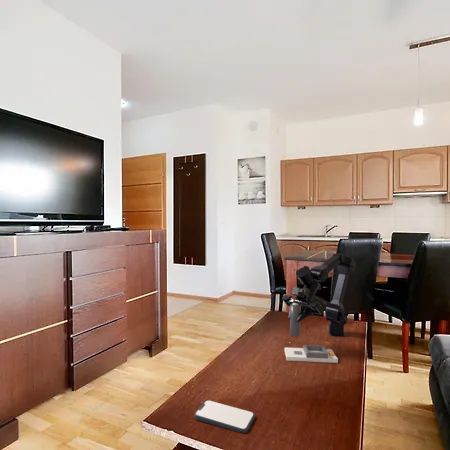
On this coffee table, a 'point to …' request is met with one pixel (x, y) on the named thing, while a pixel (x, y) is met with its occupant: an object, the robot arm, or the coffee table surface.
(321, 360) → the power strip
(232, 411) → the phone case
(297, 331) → the joystick
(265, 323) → the coffee table surface
